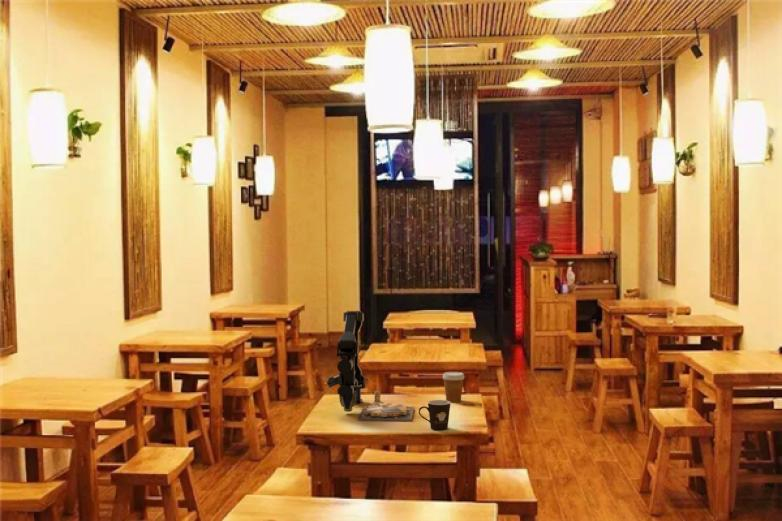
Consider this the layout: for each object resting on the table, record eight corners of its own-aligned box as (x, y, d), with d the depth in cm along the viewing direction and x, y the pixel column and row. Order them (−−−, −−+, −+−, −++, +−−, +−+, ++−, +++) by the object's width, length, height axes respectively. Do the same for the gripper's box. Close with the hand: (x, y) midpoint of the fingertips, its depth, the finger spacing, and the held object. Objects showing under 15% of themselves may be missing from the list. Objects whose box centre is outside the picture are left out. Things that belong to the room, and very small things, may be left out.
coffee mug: (452, 426, 325) (452, 400, 325) (448, 431, 317) (448, 405, 316) (422, 424, 328) (422, 399, 327) (418, 430, 319) (417, 404, 319)
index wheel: (352, 411, 346) (351, 395, 346) (385, 404, 359) (385, 389, 359) (385, 420, 331) (385, 403, 331) (419, 412, 344) (419, 396, 344)
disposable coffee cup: (446, 403, 364) (446, 376, 363) (439, 399, 373) (439, 372, 372) (467, 402, 366) (467, 375, 365) (460, 398, 375) (460, 371, 375)
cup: (354, 413, 342) (354, 393, 342) (336, 412, 344) (336, 393, 343) (359, 409, 350) (358, 390, 349) (341, 408, 351) (341, 389, 351)
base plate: (363, 408, 356) (363, 405, 356) (414, 409, 354) (413, 406, 354) (358, 420, 335) (358, 417, 335) (411, 421, 333) (411, 418, 333)
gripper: (331, 364, 356) (331, 401, 357) (324, 373, 337) (325, 412, 338) (357, 365, 355) (358, 402, 356) (352, 373, 336) (352, 412, 337)
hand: (348, 407), depth 347 cm, fingers closed on cup, 6 cm apart
